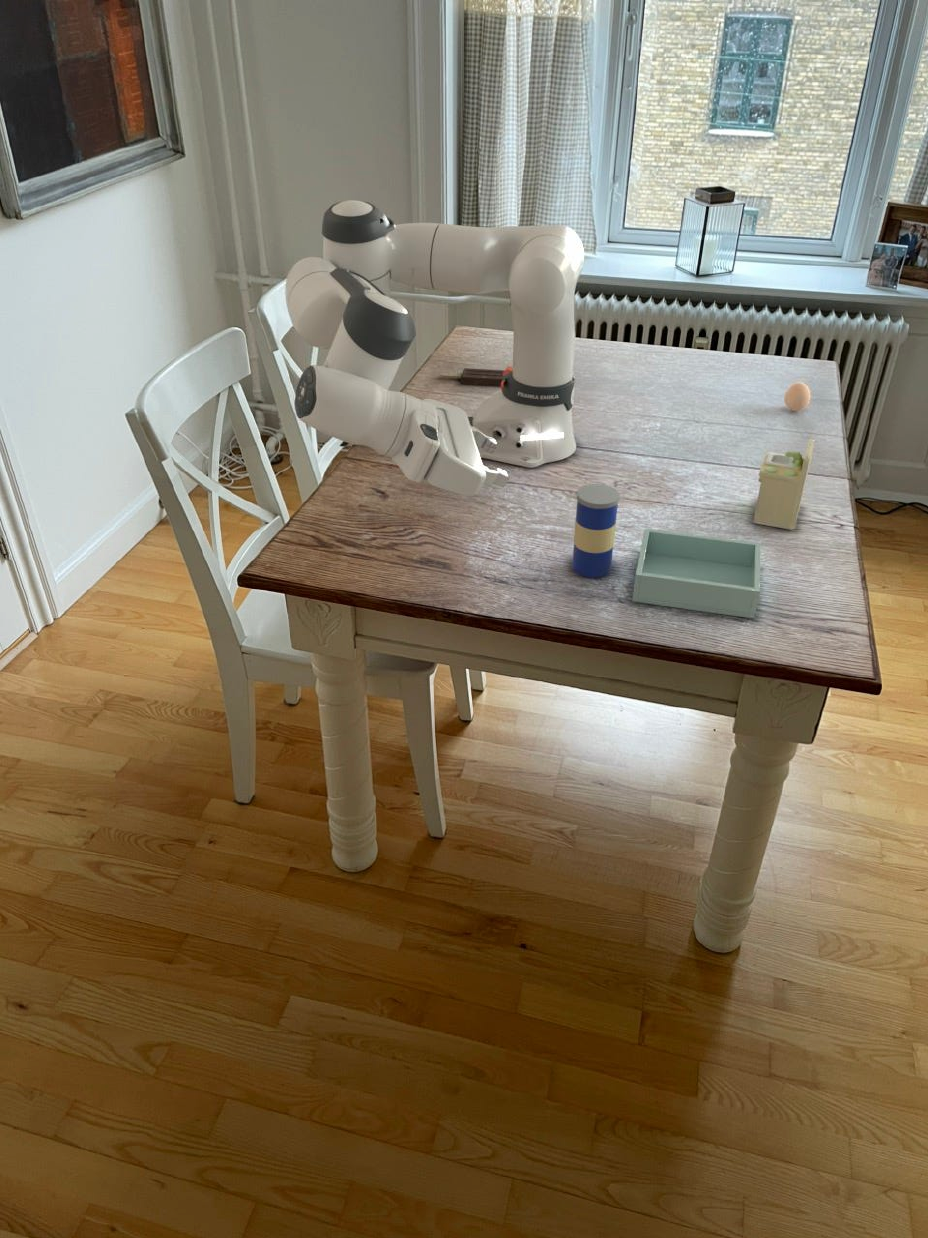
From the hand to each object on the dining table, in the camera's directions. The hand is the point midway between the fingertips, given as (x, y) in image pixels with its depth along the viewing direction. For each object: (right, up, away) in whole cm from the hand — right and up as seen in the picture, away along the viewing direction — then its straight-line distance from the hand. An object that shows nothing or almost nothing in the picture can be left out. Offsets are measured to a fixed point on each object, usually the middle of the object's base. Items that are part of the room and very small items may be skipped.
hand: (500, 462), depth 138 cm
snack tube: (+15, -14, +13) cm, 24 cm away
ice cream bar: (-3, +30, +74) cm, 80 cm away
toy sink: (+48, -5, +26) cm, 55 cm away
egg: (+63, +21, +62) cm, 91 cm away
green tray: (+30, -17, +9) cm, 36 cm away
